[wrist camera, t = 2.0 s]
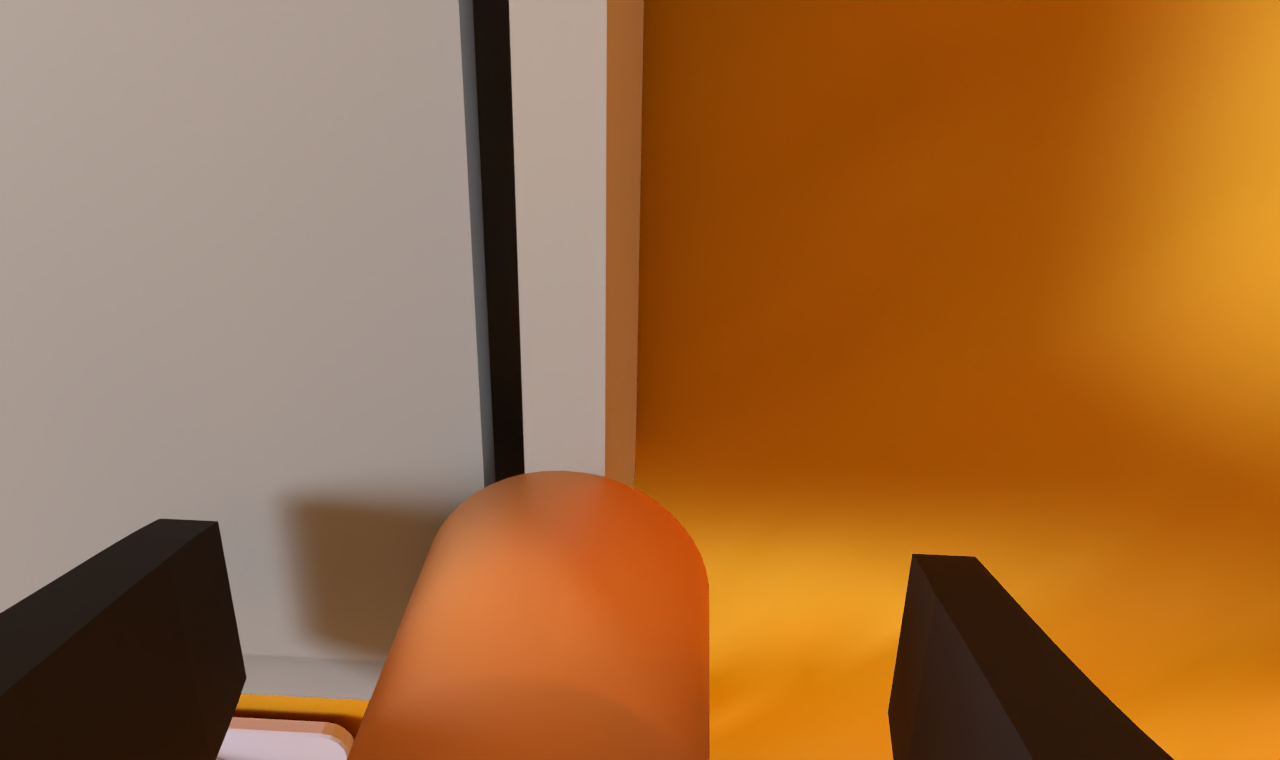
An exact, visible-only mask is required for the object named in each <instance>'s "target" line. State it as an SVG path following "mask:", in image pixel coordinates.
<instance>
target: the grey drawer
mask: <svg viewBox="0 0 1280 760" xmlns="http://www.w3.org/2000/svg"><path fill="white" fill-rule="evenodd" d="M509 18H510V48H511V78H512V108H513V137H514V167H515V197H516V227H517V256H518V286H519V316H520V346H521V375H522V405H523V435H524V465H525V474H521V475H517V476H513V477H509V478H506V479H504V480H501V481H499V482H496V483H493V484H491V485H489V486H487V487H485V488H483V489H482V490H480V491H478V492H476V493H474V494H473V495H472V496H470V497H469V498H468V499H466V500H465V501H464V502H462V503H461V504H460V505H459V506H458V507H457V508H456V509H455V510H454V511H453V512H452V513H451V514H450V515H449V516H448V518H447V519H446V520H445V522H444V523H443V524H442V526H441V527H440V528H439V530H438V532H437V534H436V536H435V538H434V540H433V542H432V544H431V547H430V550H429V552H428V555H427V557H426V560H425V562H424V565H423V567H422V570H421V572H420V575H419V577H418V580H417V582H416V585H415V588H414V590H413V593H412V595H411V598H410V600H409V603H408V605H407V608H406V610H405V613H404V615H403V618H402V620H401V623H400V626H399V628H398V631H397V633H396V636H395V638H394V641H393V643H392V646H391V648H390V651H389V653H388V656H387V658H386V661H385V664H384V666H383V669H382V671H381V674H380V676H379V679H378V681H377V684H376V686H375V689H374V691H373V694H372V696H371V699H370V702H369V704H368V707H367V709H366V712H365V714H364V717H363V719H362V722H361V724H360V727H359V729H358V732H357V734H356V737H355V740H354V742H353V745H352V747H351V750H350V752H349V755H348V757H347V760H709V583H708V578H707V573H706V568H705V566H704V563H703V560H702V557H701V554H700V552H699V551H698V549H697V547H696V545H695V543H694V541H693V539H692V538H691V537H690V535H689V534H688V533H687V531H686V530H685V528H684V527H683V526H682V525H681V524H680V523H679V522H678V520H677V519H676V518H675V517H674V516H673V515H672V514H671V513H670V512H669V511H667V510H666V509H665V508H664V507H662V506H661V505H660V504H659V503H657V502H656V501H655V500H653V499H651V498H650V497H648V496H647V495H645V494H643V493H642V492H640V491H638V490H636V489H634V488H633V484H634V476H635V466H636V411H637V356H638V302H639V247H640V192H641V138H642V83H643V28H644V0H509Z"/></svg>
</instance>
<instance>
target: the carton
mask: <svg viewBox="0 0 1280 760" xmlns="http://www.w3.org/2000/svg"><path fill="white" fill-rule="evenodd" d="M521 474H525V465H524V435H523V405H522V375H521V346H520V316H519V286H518V256H517V227H516V197H515V167H514V137H513V108H512V78H511V48H510V18H509V0H0V613H1V612H3V611H5V610H6V609H8V608H10V607H11V606H13V605H15V604H16V603H18V602H19V601H21V600H23V599H24V598H26V597H28V596H29V595H31V594H33V593H34V592H36V591H37V590H39V589H41V588H42V587H44V586H46V585H47V584H49V583H51V582H52V581H54V580H55V579H57V578H59V577H60V576H62V575H64V574H65V573H67V572H68V571H70V570H72V569H73V568H75V567H77V566H78V565H80V564H81V563H83V562H85V561H86V560H88V559H90V558H91V557H93V556H94V555H96V554H98V553H99V552H101V551H103V550H104V549H106V548H108V547H109V546H111V545H113V544H114V543H116V542H118V541H119V540H121V539H123V538H125V537H126V536H128V535H130V534H132V533H133V532H135V531H137V530H139V529H140V528H142V527H144V526H146V525H148V524H150V523H152V522H154V521H156V520H158V519H181V520H202V521H218V524H219V529H220V535H221V540H222V546H223V551H224V557H225V562H226V568H227V573H228V579H229V584H230V590H231V595H232V601H233V606H234V612H235V617H236V623H237V628H238V634H239V639H240V645H241V650H242V655H243V661H244V666H245V672H246V677H247V679H246V681H245V684H244V687H243V690H242V692H241V694H259V695H277V696H296V697H315V698H333V699H352V700H370V699H371V696H372V694H373V691H374V689H375V686H376V684H377V681H378V679H379V676H380V674H381V671H382V669H383V666H384V664H385V661H386V658H387V656H388V653H389V651H390V648H391V646H392V643H393V641H394V638H395V636H396V633H397V631H398V628H399V626H400V623H401V620H402V618H403V615H404V613H405V610H406V608H407V605H408V603H409V600H410V598H411V595H412V593H413V590H414V588H415V585H416V582H417V580H418V577H419V575H420V572H421V570H422V567H423V565H424V562H425V560H426V557H427V555H428V552H429V550H430V547H431V544H432V542H433V540H434V538H435V536H436V534H437V532H438V530H439V528H440V527H441V526H442V524H443V523H444V522H445V520H446V519H447V518H448V516H449V515H450V514H451V513H452V512H453V511H454V510H455V509H456V508H457V507H458V506H459V505H460V504H461V503H462V502H464V501H465V500H466V499H468V498H469V497H470V496H472V495H473V494H474V493H476V492H478V491H480V490H482V489H483V488H485V487H487V486H489V485H491V484H493V483H496V482H499V481H501V480H504V479H506V478H509V477H513V476H517V475H521Z"/></svg>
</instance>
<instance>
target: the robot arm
mask: <svg viewBox="0 0 1280 760" xmlns="http://www.w3.org/2000/svg"><path fill="white" fill-rule="evenodd" d="M246 679H247V677H246V672H245V666H244V661H243V655H242V650H241V645H240V639H239V634H238V628H237V623H236V617H235V612H234V606H233V601H232V595H231V590H230V584H229V579H228V573H227V568H226V562H225V557H224V551H223V546H222V540H221V535H220V529H219V524H218V521H202V520H181V519H158V520H156V521H154V522H152V523H150V524H148V525H146V526H144V527H142V528H140V529H139V530H137V531H135V532H133V533H132V534H130V535H128V536H126V537H125V538H123V539H121V540H119V541H118V542H116V543H114V544H113V545H111V546H109V547H108V548H106V549H104V550H103V551H101V552H99V553H98V554H96V555H94V556H93V557H91V558H90V559H88V560H86V561H85V562H83V563H81V564H80V565H78V566H77V567H75V568H73V569H72V570H70V571H68V572H67V573H65V574H64V575H62V576H60V577H59V578H57V579H55V580H54V581H52V582H51V583H49V584H47V585H46V586H44V587H42V588H41V589H39V590H37V591H36V592H34V593H33V594H31V595H29V596H28V597H26V598H24V599H23V600H21V601H19V602H18V603H16V604H15V605H13V606H11V607H10V608H8V609H6V610H5V611H3V612H1V613H0V760H347V757H348V755H349V752H350V750H351V747H352V745H353V742H354V740H353V737H352V735H351V734H350V733H349V732H348V731H347V730H346V729H345V728H343V727H341V726H339V725H337V724H334V723H329V722H316V721H298V720H280V719H261V718H243V717H233V714H234V712H235V709H236V706H237V703H238V701H239V698H240V695H241V692H242V690H243V687H244V684H245V681H246ZM888 716H889V724H890V733H891V742H892V750H893V759H894V760H1174V759H1173V758H1172V757H1170V756H1169V755H1168V754H1167V753H1166V752H1165V751H1164V750H1163V749H1162V748H1161V747H1159V746H1158V745H1157V744H1156V743H1155V742H1154V741H1153V740H1152V739H1151V738H1149V737H1148V736H1147V735H1146V734H1145V733H1144V732H1143V731H1142V730H1141V729H1140V728H1139V727H1138V726H1136V725H1135V724H1134V723H1133V722H1132V721H1131V720H1130V719H1129V718H1128V717H1127V716H1126V715H1125V714H1124V713H1123V712H1122V711H1121V710H1120V709H1119V708H1118V707H1117V706H1116V705H1115V704H1114V703H1113V702H1112V701H1111V700H1110V699H1109V698H1108V697H1107V696H1106V695H1104V694H1103V693H1102V692H1101V691H1100V690H1099V689H1098V688H1097V687H1096V686H1095V685H1094V684H1093V683H1092V682H1091V680H1090V679H1089V678H1088V677H1087V676H1086V675H1085V674H1084V673H1083V672H1082V671H1081V670H1080V669H1079V668H1078V667H1077V666H1076V665H1075V664H1074V663H1073V662H1072V661H1071V660H1070V659H1069V658H1068V657H1067V656H1066V655H1065V654H1064V653H1063V652H1062V651H1061V650H1060V648H1059V647H1058V646H1057V645H1056V644H1055V643H1054V642H1053V641H1052V640H1051V639H1050V638H1049V637H1048V636H1047V635H1046V634H1045V632H1044V631H1043V630H1042V629H1041V628H1040V627H1039V626H1038V625H1037V624H1036V623H1035V622H1034V621H1033V620H1032V618H1031V617H1030V616H1029V615H1028V614H1027V613H1026V612H1025V611H1024V610H1023V609H1022V607H1021V606H1020V605H1019V604H1018V603H1017V602H1016V601H1015V600H1014V599H1013V598H1012V597H1011V595H1010V594H1009V593H1008V592H1007V591H1006V590H1005V589H1004V588H1003V587H1002V586H1001V584H1000V583H999V582H998V581H997V580H996V579H995V578H994V577H993V576H992V575H991V573H990V572H989V571H988V570H987V569H986V568H985V567H984V566H983V565H982V564H981V563H980V562H979V561H978V559H977V558H976V557H967V556H946V555H925V554H912V561H911V567H910V574H909V580H908V587H907V593H906V600H905V606H904V613H903V619H902V625H901V632H900V638H899V645H898V651H897V658H896V664H895V671H894V677H893V684H892V690H891V697H890V703H889V710H888Z"/></svg>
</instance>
